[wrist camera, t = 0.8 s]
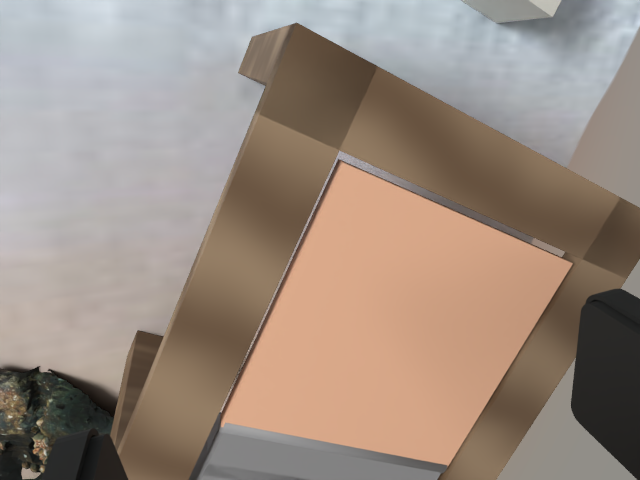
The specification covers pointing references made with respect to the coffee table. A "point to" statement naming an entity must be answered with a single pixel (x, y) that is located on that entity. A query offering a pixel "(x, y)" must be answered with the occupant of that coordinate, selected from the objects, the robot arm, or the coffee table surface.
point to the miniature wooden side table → (293, 212)
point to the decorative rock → (41, 419)
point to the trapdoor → (379, 340)
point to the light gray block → (514, 9)
